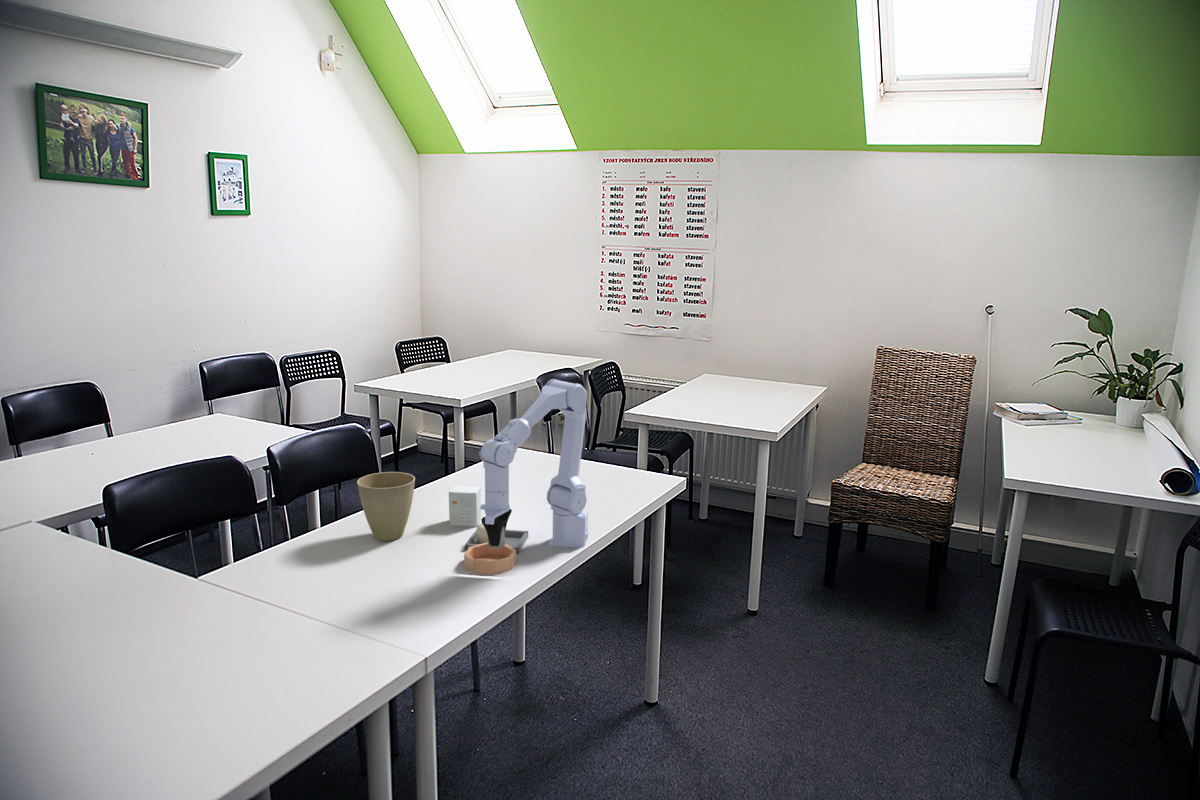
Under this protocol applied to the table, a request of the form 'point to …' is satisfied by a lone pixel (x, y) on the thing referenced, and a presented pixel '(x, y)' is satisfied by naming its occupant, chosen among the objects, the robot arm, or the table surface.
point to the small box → (465, 506)
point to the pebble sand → (481, 534)
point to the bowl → (489, 559)
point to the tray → (511, 539)
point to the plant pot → (387, 502)
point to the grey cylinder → (502, 541)
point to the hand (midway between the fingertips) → (496, 542)
